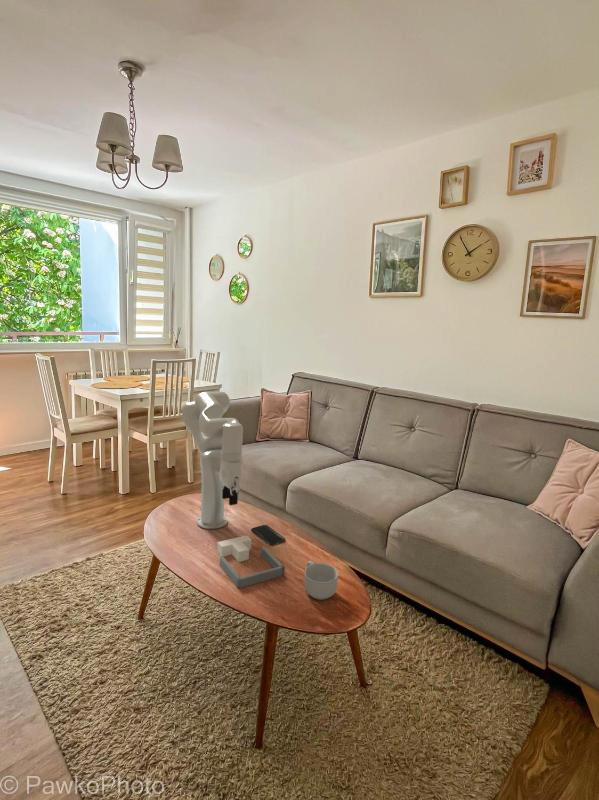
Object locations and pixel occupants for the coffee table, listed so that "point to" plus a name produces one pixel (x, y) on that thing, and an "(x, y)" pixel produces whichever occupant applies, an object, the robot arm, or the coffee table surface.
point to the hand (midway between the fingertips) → (229, 500)
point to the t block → (235, 548)
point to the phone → (268, 534)
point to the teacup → (320, 580)
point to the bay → (256, 577)
